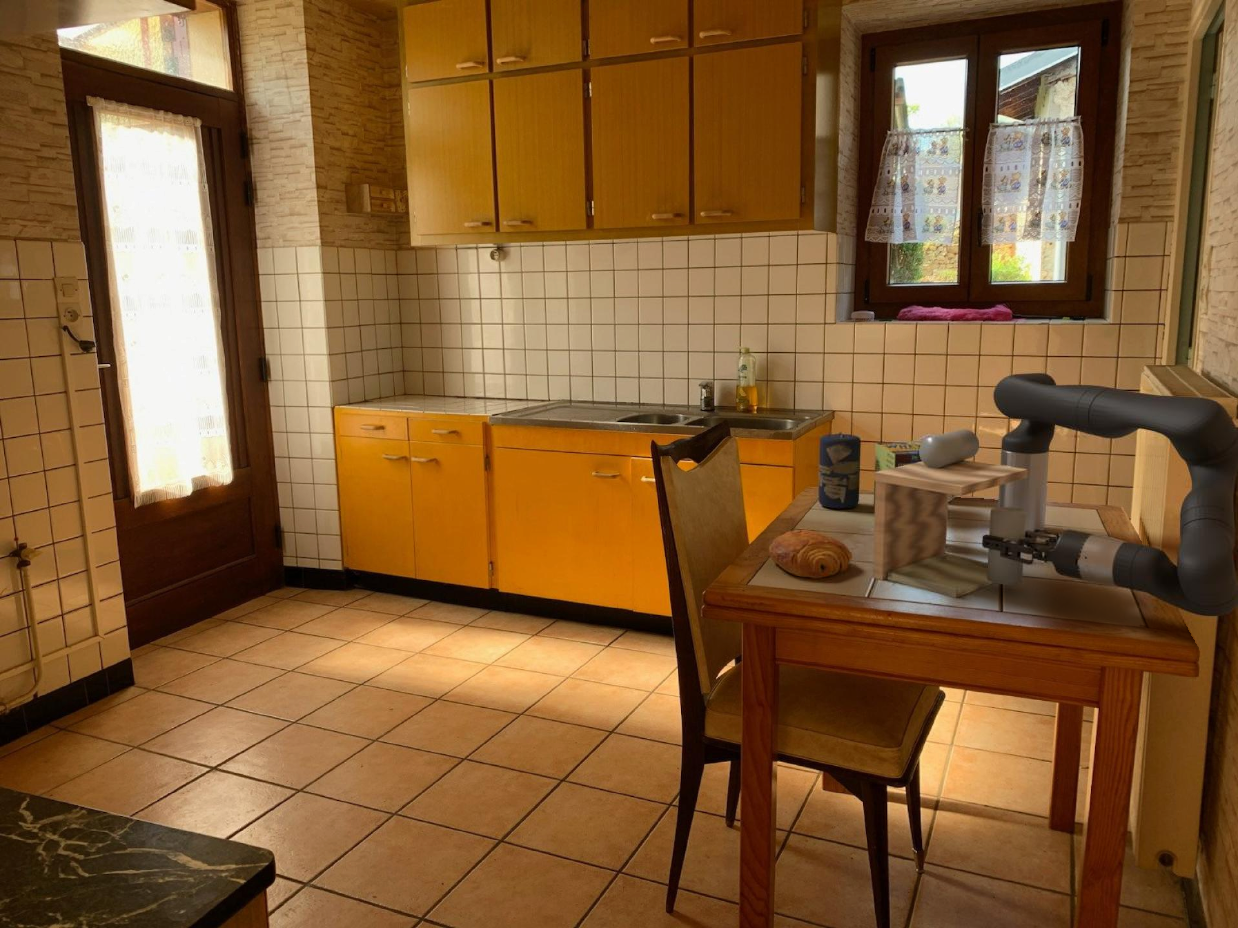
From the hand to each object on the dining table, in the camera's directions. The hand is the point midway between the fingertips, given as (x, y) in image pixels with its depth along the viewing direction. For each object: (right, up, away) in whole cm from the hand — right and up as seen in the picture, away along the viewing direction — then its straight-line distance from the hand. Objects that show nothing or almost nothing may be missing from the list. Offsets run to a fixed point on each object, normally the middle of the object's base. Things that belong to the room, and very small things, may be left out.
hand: (993, 537), depth 161 cm
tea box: (+14, +4, +71) cm, 72 cm away
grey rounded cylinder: (+2, -7, -1) cm, 7 cm away
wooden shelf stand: (-5, -8, +8) cm, 12 cm away
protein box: (+1, +1, +55) cm, 55 cm away
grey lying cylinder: (-8, +15, +7) cm, 18 cm away
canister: (-12, +2, +63) cm, 64 cm away
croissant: (-28, -7, +16) cm, 33 cm away
